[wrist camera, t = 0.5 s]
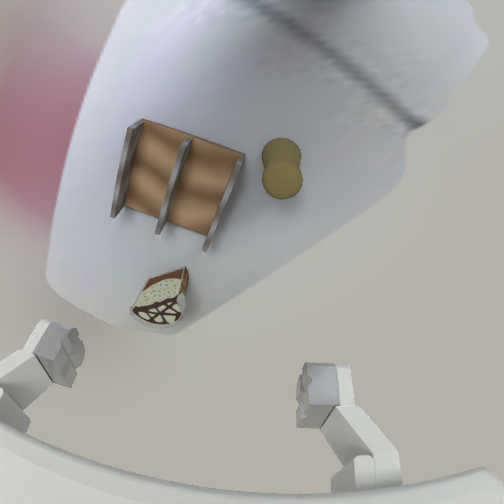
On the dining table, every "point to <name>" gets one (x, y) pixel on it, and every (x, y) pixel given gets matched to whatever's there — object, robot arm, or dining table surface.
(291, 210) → the dining table surface
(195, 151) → the slot rack
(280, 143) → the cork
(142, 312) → the food container
